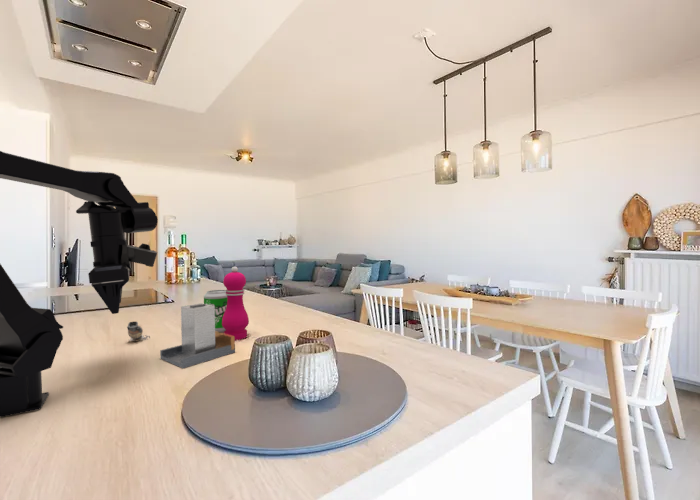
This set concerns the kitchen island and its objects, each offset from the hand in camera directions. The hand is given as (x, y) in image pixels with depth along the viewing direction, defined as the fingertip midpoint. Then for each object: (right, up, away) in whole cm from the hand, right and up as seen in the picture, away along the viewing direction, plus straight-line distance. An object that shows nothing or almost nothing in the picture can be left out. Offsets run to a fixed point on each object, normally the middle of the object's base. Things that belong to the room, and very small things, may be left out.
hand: (116, 308), depth 74 cm
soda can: (+10, -12, +31) cm, 35 cm away
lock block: (+14, -12, +9) cm, 20 cm away
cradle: (+14, -13, +9) cm, 21 cm away
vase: (-8, -13, +20) cm, 25 cm away
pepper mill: (+18, -12, +24) cm, 32 cm away
